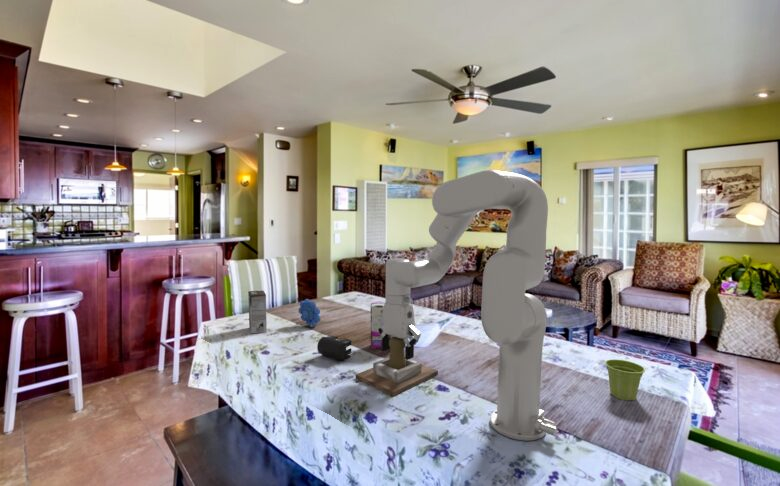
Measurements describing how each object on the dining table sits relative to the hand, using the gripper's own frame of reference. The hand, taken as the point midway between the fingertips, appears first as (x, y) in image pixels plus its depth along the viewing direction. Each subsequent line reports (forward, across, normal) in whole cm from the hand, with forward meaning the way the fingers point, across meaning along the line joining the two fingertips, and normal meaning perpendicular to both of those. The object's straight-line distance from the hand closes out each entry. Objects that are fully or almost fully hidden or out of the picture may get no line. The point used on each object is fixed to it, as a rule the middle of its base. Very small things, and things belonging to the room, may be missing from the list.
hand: (397, 354), depth 117 cm
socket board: (+7, 0, 0) cm, 7 cm away
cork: (+6, 0, 0) cm, 6 cm away
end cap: (+7, +26, +4) cm, 27 cm away
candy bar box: (+7, +21, -16) cm, 27 cm away
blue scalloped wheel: (+7, +63, -10) cm, 64 cm away
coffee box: (+7, +74, +8) cm, 75 cm away
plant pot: (+7, -53, -35) cm, 64 cm away
